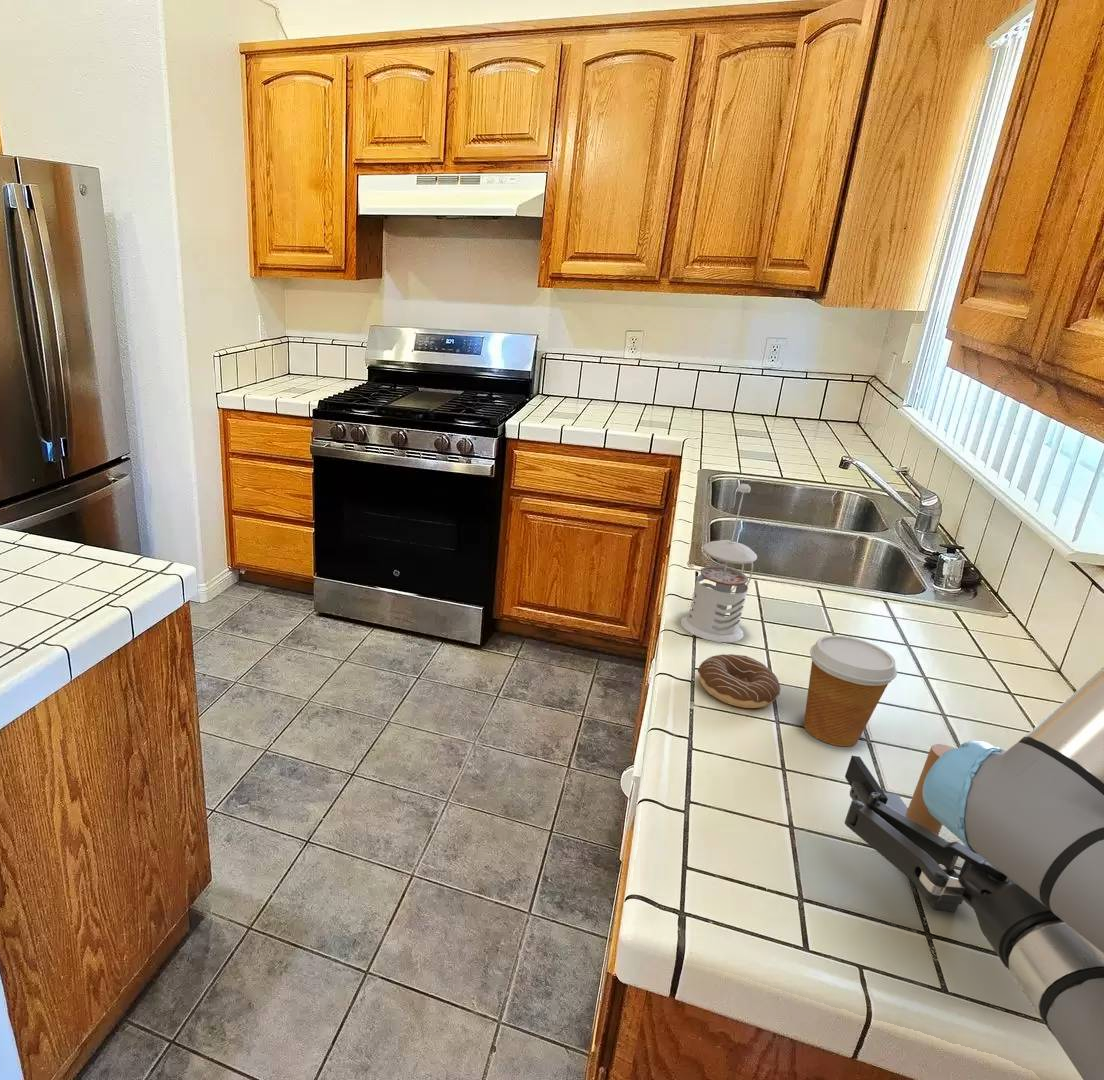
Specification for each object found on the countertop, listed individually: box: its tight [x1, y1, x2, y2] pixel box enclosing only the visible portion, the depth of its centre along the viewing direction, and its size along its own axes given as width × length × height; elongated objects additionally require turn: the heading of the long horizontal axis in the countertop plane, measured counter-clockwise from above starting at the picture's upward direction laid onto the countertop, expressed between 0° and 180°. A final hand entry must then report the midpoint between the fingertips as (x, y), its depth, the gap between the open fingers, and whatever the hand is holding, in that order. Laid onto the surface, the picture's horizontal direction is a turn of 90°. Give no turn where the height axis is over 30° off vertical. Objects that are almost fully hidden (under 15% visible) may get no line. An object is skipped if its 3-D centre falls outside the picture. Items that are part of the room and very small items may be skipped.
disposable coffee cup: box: [803, 634, 898, 747], centre depth 96 cm, size 10×10×12 cm
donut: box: [697, 653, 781, 709], centre depth 106 cm, size 11×11×4 cm
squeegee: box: [884, 743, 964, 913], centre depth 76 cm, size 3×14×13 cm, turn 170°
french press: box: [680, 483, 758, 643], centre depth 121 cm, size 10×12×25 cm
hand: (922, 775), depth 77 cm, fingers open, 13 cm apart
